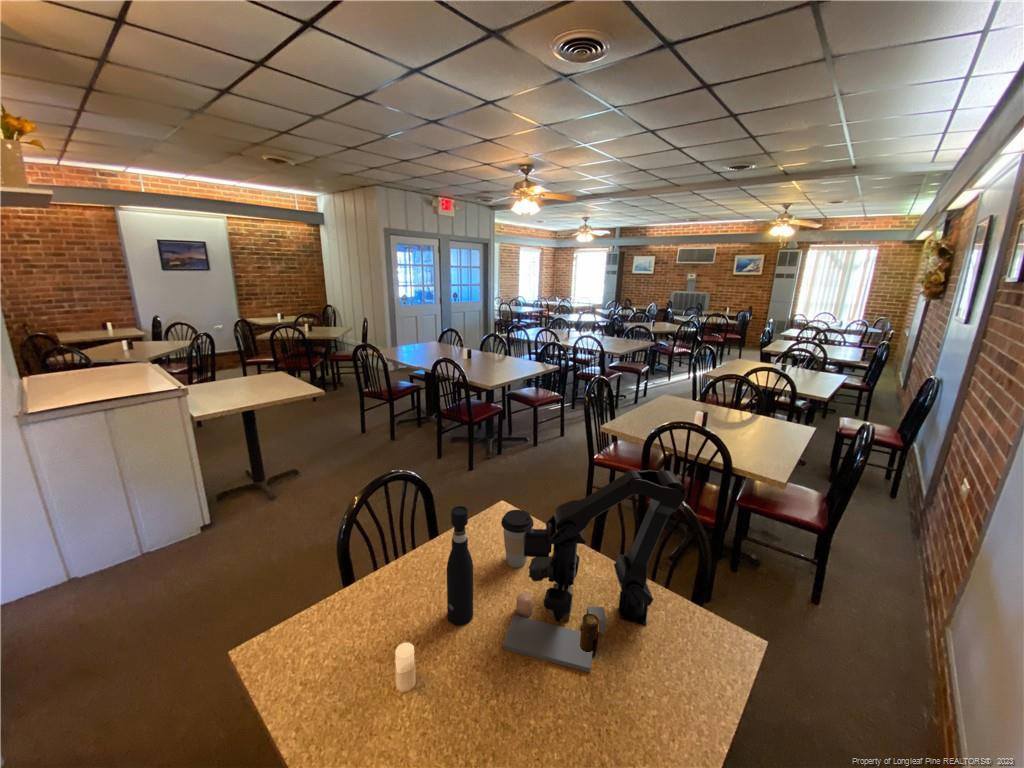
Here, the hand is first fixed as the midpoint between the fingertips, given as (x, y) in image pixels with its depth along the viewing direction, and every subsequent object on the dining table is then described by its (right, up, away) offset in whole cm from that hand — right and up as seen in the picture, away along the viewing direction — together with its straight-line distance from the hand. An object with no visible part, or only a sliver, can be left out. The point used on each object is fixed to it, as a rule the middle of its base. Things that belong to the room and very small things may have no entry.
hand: (561, 607), depth 107 cm
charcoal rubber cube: (+8, -3, -4) cm, 9 cm away
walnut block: (0, -1, 0) cm, 1 cm away
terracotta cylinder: (-10, -1, 0) cm, 10 cm away
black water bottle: (-26, -1, -2) cm, 26 cm away
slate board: (-4, -4, -9) cm, 11 cm away
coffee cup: (-11, +4, +18) cm, 22 cm away
